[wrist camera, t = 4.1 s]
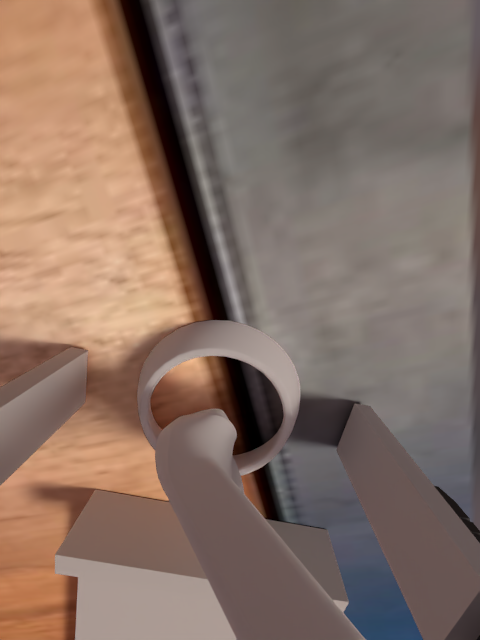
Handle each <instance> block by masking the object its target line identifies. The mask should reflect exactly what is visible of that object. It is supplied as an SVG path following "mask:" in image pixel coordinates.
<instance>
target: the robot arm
mask: <svg viewBox="0 0 480 640" xmlns="http://www.w3.org/2000/svg"><path fill="white" fill-rule="evenodd" d="M87 361H88V350H84V349H79V348H74V347H70V348H68V349H66V350H65V351H63V352H61V353H59V354H58V355H56V356H54V357H52V358H51V359H49V360H47V361H45V362H44V363H42V364H40V365H38V366H37V367H35V368H33V369H31V370H30V371H28V372H26V373H24V374H23V375H21V376H19V377H17V378H16V379H14V380H12V381H10V382H9V383H7V384H5V385H3V386H2V387H0V485H1V484H2V483H4V482H5V481H6V480H7V479H8V478H9V477H10V476H11V475H12V474H13V473H14V472H15V471H16V470H17V469H18V468H19V467H20V466H21V465H22V464H23V463H24V462H25V461H26V460H27V459H28V458H29V457H30V456H31V455H32V454H33V453H34V452H35V451H36V450H37V449H38V448H39V447H40V446H41V445H42V444H43V443H45V442H46V441H47V440H48V439H49V438H50V437H51V436H52V435H53V434H54V433H55V432H56V431H57V430H58V429H59V428H60V427H61V426H62V425H63V424H64V423H65V422H66V421H67V420H68V419H69V418H70V417H71V416H72V415H73V414H74V413H75V412H76V411H77V410H78V409H79V408H80V407H81V406H82V405H83V404H84V403H85V401H86V381H87ZM337 453H338V455H339V457H340V459H341V461H342V463H343V466H344V468H345V470H346V472H347V474H348V476H349V479H350V481H351V483H352V485H353V487H354V490H355V492H356V494H357V496H358V498H359V500H360V503H361V505H362V507H363V509H364V511H365V513H366V516H367V518H368V520H369V522H370V524H371V526H372V529H373V531H374V533H375V535H376V537H377V540H378V542H379V544H380V546H381V548H382V550H383V553H384V555H385V557H386V559H387V561H388V563H389V566H390V568H391V570H392V572H393V574H394V577H395V579H396V581H397V583H398V585H399V587H400V590H401V592H402V594H403V596H404V598H405V600H406V603H407V605H408V607H409V609H410V611H411V613H412V616H413V618H414V620H415V622H416V624H417V627H418V629H419V631H420V633H421V635H422V637H423V640H480V531H479V530H478V528H477V527H476V526H475V525H474V524H473V522H470V519H469V518H468V516H467V515H466V514H465V513H464V512H463V510H462V509H461V508H460V507H459V506H458V504H457V503H456V502H455V501H454V500H453V499H452V498H450V497H449V496H448V495H447V494H446V493H445V492H444V491H442V490H441V489H440V488H439V487H437V486H434V485H433V484H432V483H431V482H430V480H429V479H428V478H427V477H426V475H425V474H424V473H423V472H422V470H421V469H420V468H419V467H418V465H417V464H416V463H415V462H414V460H413V459H412V458H411V457H410V455H409V454H408V453H407V452H406V450H405V449H404V448H403V447H402V445H401V444H400V443H399V442H398V440H397V439H396V438H395V437H394V435H393V434H392V433H391V432H390V430H389V429H388V428H387V427H386V426H385V424H384V423H383V422H382V421H381V419H380V418H379V417H378V416H377V414H376V413H375V412H374V411H373V409H372V408H371V407H370V406H366V405H361V404H356V403H355V404H354V406H353V409H352V411H351V414H350V416H349V419H348V421H347V424H346V427H345V429H344V432H343V434H342V437H341V439H340V442H339V444H338V447H337Z"/></svg>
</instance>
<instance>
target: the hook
mask: <svg viewBox="0 0 480 640" xmlns="http://www.w3.org/2000/svg"><path fill="white" fill-rule="evenodd" d="M204 356H225V357H229V358H234V359H238V360H240V361H243V362H245V363H247V364H250V365H252V366H253V367H255V368H256V369H258V370H259V371H260V372H262V373H263V374H264V375H265V376H266V377H267V378H268V379H269V380H270V381H271V382H272V384H273V385H274V387H275V388H276V390H277V392H278V394H279V396H280V399H281V402H282V406H283V414H284V416H283V421H282V424H281V427H280V428H279V430H278V432H277V433H276V434H275V435H274V436H273V437H272V438H271V439H270V440H269V441H268V442H266V443H265V444H263V445H262V446H260V447H258V448H256V449H254V450H252V451H250V452H246V453H243V454H239V455H233V456H232V453H233V447H234V443H235V440H236V438H237V433H236V429H235V427H234V425H233V424H232V423H231V422H230V421H229V419H228V417H227V416H226V414H225V413H224V411H223V410H221V409H207V410H202V411H199V412H196V413H193V414H190V415H184V416H180V417H178V418H177V419H175V420H174V421H173V422H171V423H170V424H169V425H168V426H166V427H165V428H164V429H163V430H162V429H161V428H160V427H159V425H158V424H157V423H156V421H155V419H154V417H153V414H152V411H151V404H150V399H151V395H152V393H153V391H154V388H155V386H156V385H157V383H158V382H159V381H160V379H161V378H162V377H163V376H164V375H165V374H166V373H167V372H168V371H169V370H171V369H172V368H174V367H175V366H177V365H179V364H180V363H182V362H185V361H188V360H190V359H193V358H197V357H204ZM300 397H301V392H300V382H299V378H298V375H297V372H296V369H295V366H294V365H293V363H292V361H291V360H290V358H289V356H288V355H287V353H286V352H285V351H284V350H283V349H282V348H281V347H280V346H279V344H278V343H277V342H276V341H274V340H273V339H272V338H270V337H269V336H267V335H266V334H265V333H263V332H262V331H259V330H257V329H255V328H253V327H250V326H248V325H246V324H241V323H237V322H233V321H224V320H209V321H202V322H195V323H192V324H190V325H187V326H184V327H181V328H179V329H177V330H175V331H174V332H172V333H170V334H169V335H167V336H166V337H164V338H163V339H162V340H161V341H160V342H159V343H158V344H157V345H156V346H155V347H154V348H153V349H152V351H151V352H150V354H149V355H148V357H147V358H146V360H145V362H144V365H143V367H142V370H141V372H140V377H139V384H138V390H137V402H138V414H139V418H140V422H141V425H142V428H143V431H144V434H145V436H146V438H147V440H148V441H149V443H150V445H151V446H152V447H153V448H154V450H155V460H156V469H157V474H158V478H159V480H160V483H161V485H162V487H163V490H164V491H165V493H166V495H167V497H168V499H169V502H170V504H171V506H172V508H173V510H174V512H175V514H176V516H177V518H178V520H179V522H180V524H181V526H182V528H183V530H184V532H185V534H186V536H187V538H188V540H189V542H190V544H191V546H192V548H193V550H194V552H195V554H196V556H197V558H198V560H199V562H200V565H201V567H202V569H203V571H204V573H205V575H206V577H207V579H208V581H209V583H210V585H211V587H212V589H213V591H214V593H215V595H216V597H217V599H218V601H219V604H220V606H221V608H222V610H223V612H224V614H225V616H226V618H227V620H228V622H229V624H230V626H231V628H232V630H233V632H234V634H235V636H236V638H237V640H365V639H364V637H363V636H362V635H361V634H360V633H359V631H358V630H357V629H356V628H355V626H354V625H353V624H352V623H351V622H350V620H349V619H348V618H347V617H346V616H345V614H344V613H343V612H342V611H341V610H340V608H339V607H338V606H337V605H336V604H335V602H334V601H333V600H332V599H331V598H330V596H329V595H328V594H327V593H326V592H325V590H324V589H323V588H322V587H321V586H320V584H319V583H318V582H317V581H316V580H315V578H314V577H313V576H312V575H311V574H310V572H309V571H308V570H307V569H306V568H305V566H304V565H303V564H302V563H301V562H300V560H299V559H298V558H297V557H296V556H295V554H294V553H293V552H292V551H291V550H290V548H289V547H288V546H287V545H286V544H285V542H284V541H283V540H282V539H281V538H280V536H279V535H278V534H277V533H276V532H275V530H274V529H273V528H272V527H271V526H270V524H269V523H268V522H267V521H266V520H265V518H264V517H263V516H262V515H261V513H260V512H259V511H258V510H257V509H256V507H255V506H254V505H253V504H252V503H251V502H250V500H249V499H248V498H247V497H246V496H245V494H244V489H243V484H242V480H241V475H245V474H248V473H250V472H253V471H255V470H257V469H259V468H261V467H262V466H264V465H265V464H267V463H268V462H269V461H271V460H272V459H273V458H274V457H275V456H276V455H277V454H278V453H279V452H280V450H281V449H282V447H283V446H284V444H285V442H286V441H287V439H288V438H289V436H290V434H291V433H292V430H293V427H294V424H295V421H296V419H297V416H298V412H299V405H300Z"/></svg>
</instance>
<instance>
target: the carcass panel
mask: <svg viewBox="0 0 480 640" xmlns="http://www.w3.org/2000/svg"><path fill="white" fill-rule="evenodd" d="M265 520H266V521H267V522H268V523H269V524H270V526H271V527H272V528H273V529H274V530H275V532H276V533H277V534H278V535H279V536H280V538H281V539H282V540H283V541H284V542H285V544H286V545H287V546H288V547H289V548H290V550H291V551H292V552H293V553H294V554H295V556H296V557H297V558H298V559H299V560H300V562H301V563H302V564H303V565H304V566H305V568H306V569H307V570H308V571H309V572H310V574H311V575H312V576H313V577H314V578H315V580H316V581H317V582H318V583H319V584H320V586H321V587H322V588H323V589H324V590H325V592H326V593H327V594H328V595H329V596H330V598H331V599H332V600H333V601H334V602H335V604H336V605H337V606H338V607H339V608H340V610H341V611H342V612H344V610H345V609H346V607H347V605H348V603H349V601H348V598H347V594H346V591H345V588H344V584H343V581H342V578H341V574H340V571H339V567H338V564H337V561H336V557H335V554H334V551H333V547H332V544H331V541H330V537H329V534H328V530H325V529H320V528H314V527H308V526H303V525H297V524H291V523H285V522H280V521H274V520H268V519H265ZM55 574H61V575H68V576H74V577H78V591H77V610H76V630H75V640H237V638H236V636H235V634H234V632H233V630H232V628H231V626H230V624H229V622H228V620H227V618H226V616H225V614H224V612H223V610H222V608H221V606H220V604H219V601H218V599H217V597H216V595H215V593H214V591H213V589H212V587H211V585H210V583H209V581H208V579H207V577H206V575H205V573H204V571H203V569H202V567H201V565H200V562H199V560H198V558H197V556H196V554H195V552H194V550H193V548H192V546H191V544H190V542H189V540H188V538H187V536H186V534H185V532H184V530H183V528H182V526H181V524H180V522H179V520H178V518H177V516H176V514H175V512H174V510H173V508H172V506H171V504H170V502H165V501H159V500H154V499H148V498H142V497H136V496H131V495H125V494H119V493H113V492H108V491H102V490H96V489H95V491H94V492H93V494H92V496H91V497H90V499H89V500H88V502H87V504H86V505H85V507H84V509H83V510H82V512H81V514H80V515H79V517H78V518H77V520H76V522H75V523H74V525H73V527H72V528H71V530H70V531H69V533H68V535H67V536H66V538H65V540H64V541H63V543H62V544H61V546H60V548H59V549H58V551H57V553H56V554H55Z"/></svg>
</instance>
